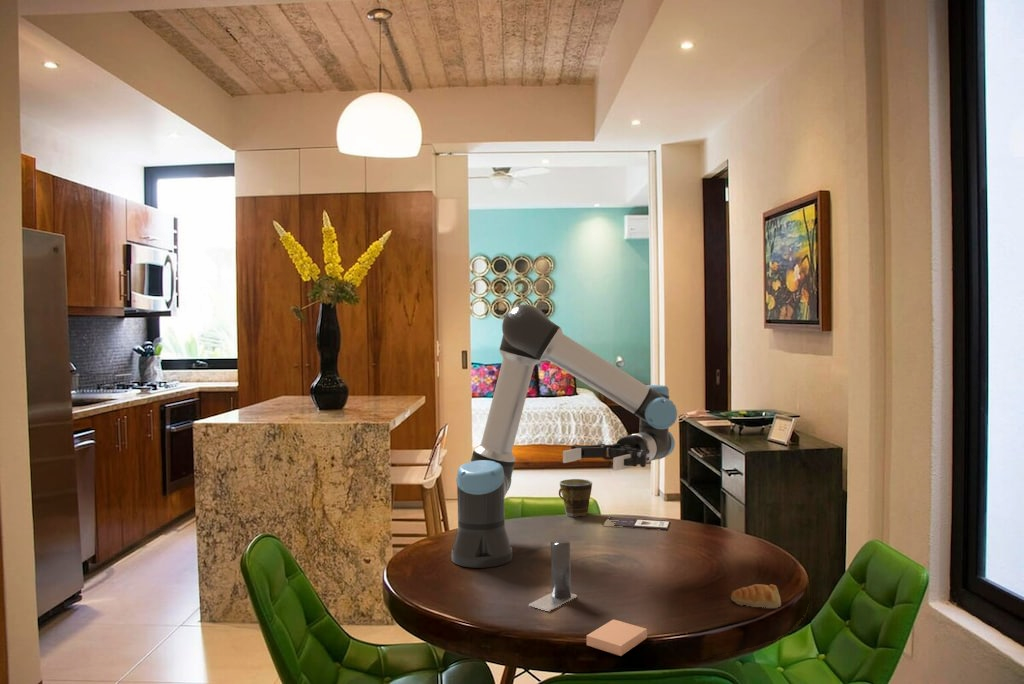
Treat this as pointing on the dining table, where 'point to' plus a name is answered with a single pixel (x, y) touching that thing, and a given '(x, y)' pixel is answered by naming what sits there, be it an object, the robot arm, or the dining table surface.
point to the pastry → (757, 596)
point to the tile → (616, 637)
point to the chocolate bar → (640, 523)
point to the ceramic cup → (576, 496)
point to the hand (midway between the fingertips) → (588, 460)
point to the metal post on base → (558, 578)
